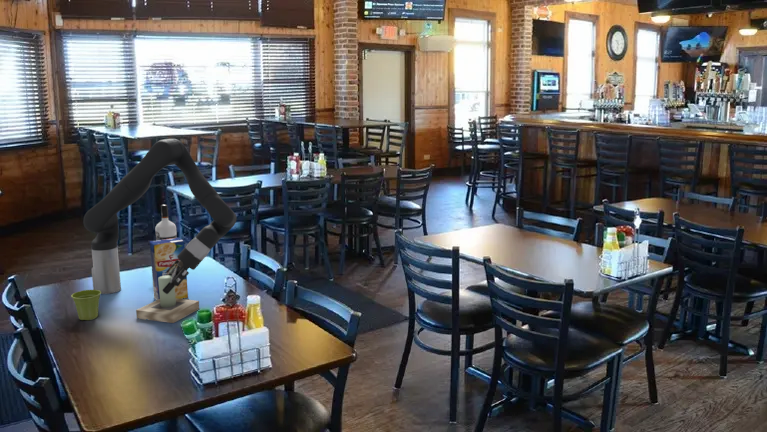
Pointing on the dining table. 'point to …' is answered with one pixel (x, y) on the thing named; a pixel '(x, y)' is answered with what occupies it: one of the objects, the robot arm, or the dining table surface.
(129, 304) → the dining table surface
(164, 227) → the vodka
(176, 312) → the birch base
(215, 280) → the dining table surface
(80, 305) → the plant pot
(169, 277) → the sage post
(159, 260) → the beverage box
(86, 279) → the dining table surface
